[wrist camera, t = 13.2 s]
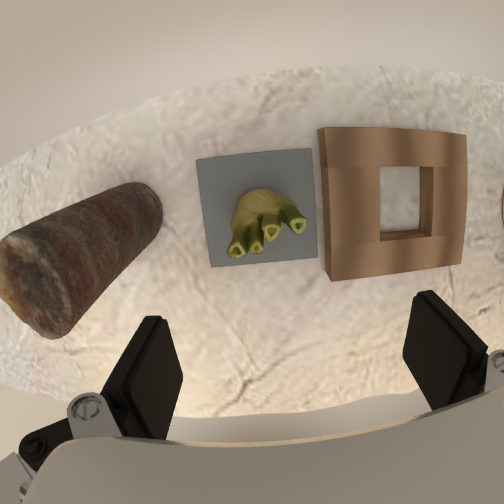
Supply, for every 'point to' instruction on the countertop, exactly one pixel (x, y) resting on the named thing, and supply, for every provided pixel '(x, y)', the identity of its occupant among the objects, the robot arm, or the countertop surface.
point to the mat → (258, 176)
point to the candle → (75, 256)
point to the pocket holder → (368, 200)
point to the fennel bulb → (262, 221)
